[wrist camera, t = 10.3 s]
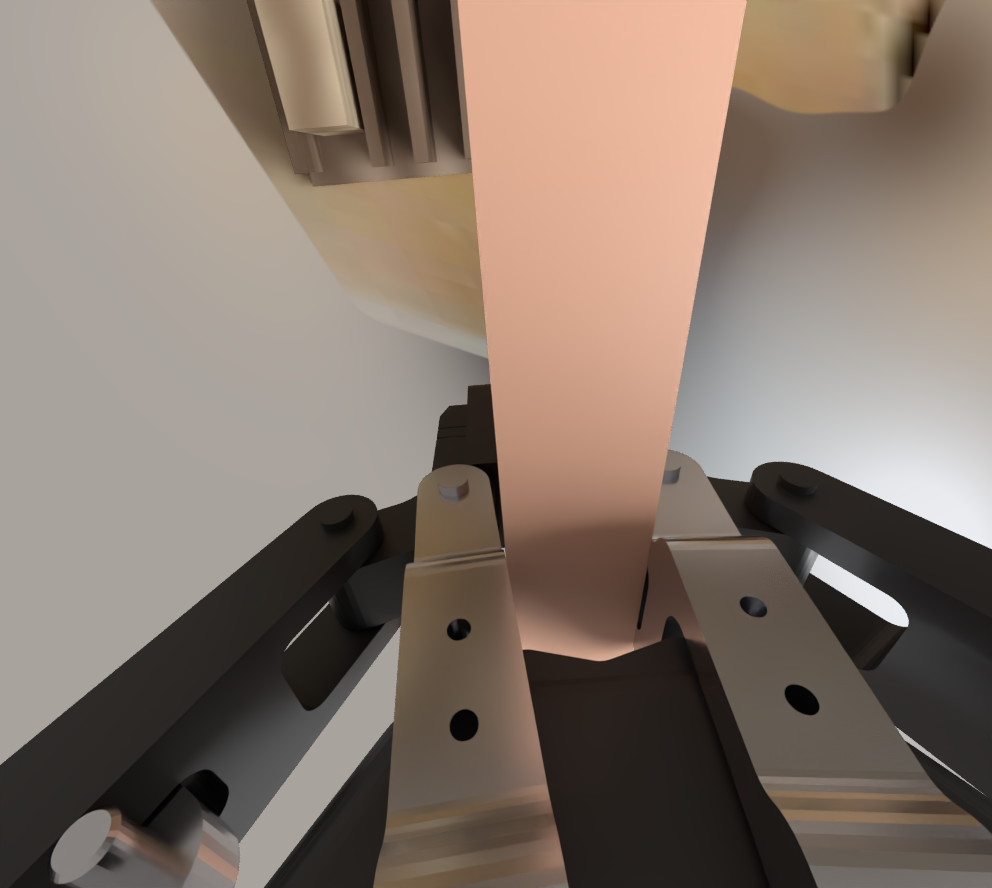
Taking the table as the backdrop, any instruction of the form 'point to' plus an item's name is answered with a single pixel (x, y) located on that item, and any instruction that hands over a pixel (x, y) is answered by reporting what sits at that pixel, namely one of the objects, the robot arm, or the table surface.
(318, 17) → the offcut stack
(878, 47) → the table surface
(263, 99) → the table surface
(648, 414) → the terracotta board
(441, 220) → the table surface
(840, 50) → the table surface
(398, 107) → the walnut rack
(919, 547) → the robot arm
